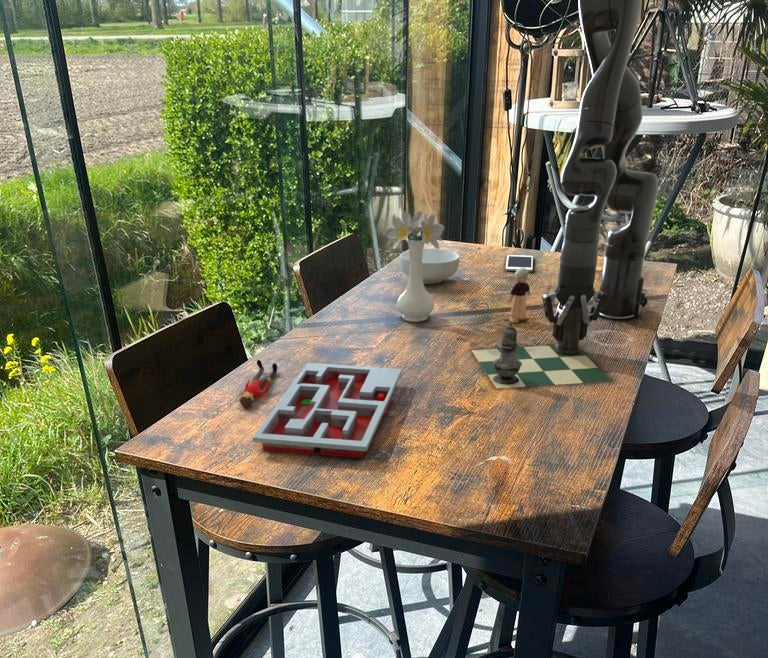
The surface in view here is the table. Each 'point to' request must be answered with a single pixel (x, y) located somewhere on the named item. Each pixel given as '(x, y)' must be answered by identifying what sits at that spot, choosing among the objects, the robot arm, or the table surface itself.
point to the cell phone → (519, 262)
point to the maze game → (330, 410)
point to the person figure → (256, 386)
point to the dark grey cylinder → (570, 332)
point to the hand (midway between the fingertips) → (569, 339)
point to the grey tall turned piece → (507, 358)
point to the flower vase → (415, 261)
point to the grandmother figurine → (519, 296)
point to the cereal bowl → (433, 264)
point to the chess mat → (543, 367)
